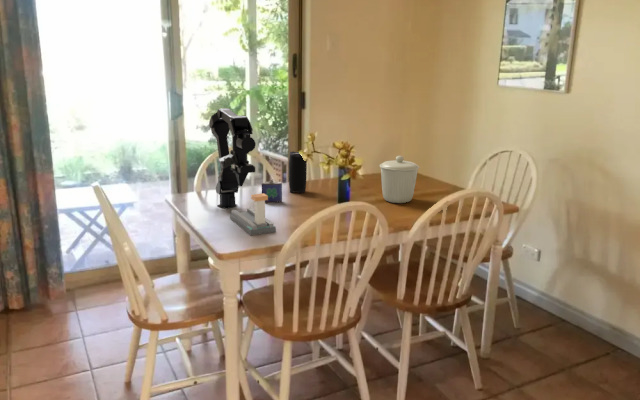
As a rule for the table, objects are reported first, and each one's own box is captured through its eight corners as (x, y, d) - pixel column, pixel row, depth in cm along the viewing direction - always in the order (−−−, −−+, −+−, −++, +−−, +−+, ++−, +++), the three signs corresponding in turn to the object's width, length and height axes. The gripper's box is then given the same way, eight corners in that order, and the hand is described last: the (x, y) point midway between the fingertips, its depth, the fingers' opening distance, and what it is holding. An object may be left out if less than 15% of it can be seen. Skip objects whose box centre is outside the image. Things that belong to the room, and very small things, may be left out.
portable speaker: (306, 189, 269) (306, 150, 264) (306, 194, 260) (306, 154, 255) (289, 189, 269) (289, 150, 264) (288, 194, 260) (288, 153, 255)
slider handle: (251, 224, 205) (250, 194, 202) (263, 222, 208) (263, 193, 205) (256, 228, 201) (255, 197, 198) (268, 226, 203) (268, 196, 200)
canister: (416, 207, 241) (419, 160, 235) (376, 204, 244) (377, 158, 239) (417, 197, 258) (420, 153, 252) (379, 194, 261) (381, 151, 256)
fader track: (229, 218, 220) (229, 210, 219) (252, 215, 225) (252, 207, 224) (250, 235, 200) (250, 226, 199) (275, 231, 204) (275, 223, 203)
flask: (282, 201, 248) (281, 178, 245) (282, 202, 245) (282, 179, 242) (261, 201, 247) (261, 178, 244) (261, 203, 244) (261, 179, 241)
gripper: (212, 145, 219) (214, 183, 223) (227, 153, 204) (229, 193, 208) (239, 144, 225) (240, 180, 229) (255, 151, 209) (256, 190, 213)
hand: (240, 186), depth 219 cm, fingers closed
